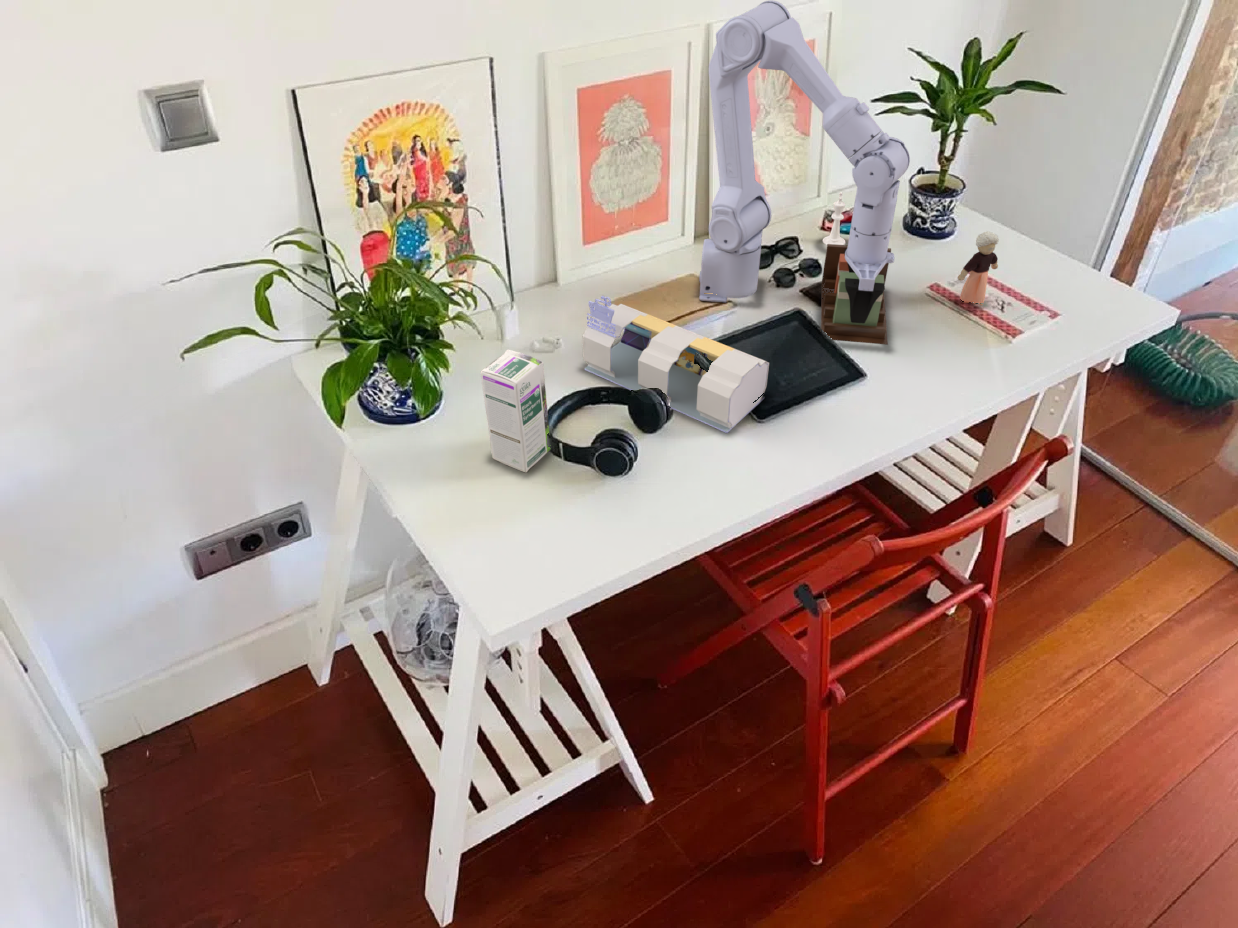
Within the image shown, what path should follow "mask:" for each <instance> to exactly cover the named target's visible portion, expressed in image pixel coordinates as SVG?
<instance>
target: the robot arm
mask: <svg viewBox="0 0 1238 928" xmlns="http://www.w3.org/2000/svg"><path fill="white" fill-rule="evenodd" d="M715 40H716V41H715V42H716V43H715V46H714V49H713V51H712V55H711V58H710V60H709V63H708V77H709V78H708V79H709V88H710V98H711V110H712V119H713V129H714V139H715V140H714V141H715V149H716V160H717V169H718V170H717V171H718V180H719V181H718V182H719V187H718V190H717V192H716V195H715V197H714V199H713V201H712V203H711V217H710V221H709V223H708V234H709V237H710V238H704V240H703V245H702V251H701V266H700V268H701V269H700V271H699V278H698V279H699V280H698V282H699V283H700V285H699V298H698V299H699V301H700V302H701V301H702V302H714V303H725V304H726V303H728V301H727V300H728V298H730V299H731V298H732V299H743V298H744V299H745V298H748V297H750V296H753V295H754V294H755V293H756V292H757V290H758V283H759V273H760V264H761V253H762V241H763V238H762V237H763V231H764V229H766V228H767V227H769V225H770V224H771V220H772V209H771V206H770V204H769V202H768V200H767V197H766V193H765V192H766V191H765V186H764V185H763V184H761V183H760V182H758V181H757V179H756V167H755V156H754V155H755V154H754V143H753V142H754V141H753V130H752V129H753V128H752V118H751V117H752V115H751V102H750V92H749V74H750V73H751V72H752V71H753V70H754V69H755V67H756V66H757V68H758V69H761V70H770V71H771V70H772V71H783V72H784V73H786V75H787V76H788V77H789V78H790V79H791V80H792V81H793V83H794V84H795V85H796V86H797V87H798V89H800V90H801V91H802V92H803V93H804V95H805V96H806V97H807V98H808V99H809V100H810V101H811V102H812V103H813V104H814V106H815V107H816V108H817V109H818V110H819V111H820V112H821V113H822V129H823V130H824V131H825V132H826V134H827V135H828V136H829V137H830V138H831V140H832V141H833V142H834V144H835V145H836V146H837V147H838V149H839V150H840V151H841V152H842V154H843V155H844V156H845V158H846V160H848V161H849V163H850V164H851V165H852V166H853V167H852V169H851V174H852V179H853V182H854V183H855V185H856V194H855V196H854V197H855V198H854V204H853V209H852V217H851V223H850V229H849V235H848V243H847V245H848V248H846V249H845V251H844V254H845V260H846V261H847V264H848V269H849V272H850V273H856V275H857V276H858V278H859V279H852V278H845V288H846V291H847V293H848V296H849V300H850V320H851V322H852V323H865V322H866V320H867V318H868V316H869V313H870V311H871V309H872V307H873V305H874V303H875V301H876V300H877V299H878V298H879V296H880V295H882V293H883V292H884V293H885V289H886V286H885V285H886V283H885V284H884V283H874V282H875V278H876V277H877V275H878V274H879V272H880V271H881V270H882V268H883V267H884V265H885V264H886V263H889V264H893V263H894V262H895V260H896V259H895V257H896V256H895V253H894V252H891V253H890V252H887V250H888V248H889V244H890V238H891V234H892V229H893V224H894V218H895V213H896V207H897V202H898V194H899V190H900V189H899V188H900V183H901V181H900V180H899V179H900V178H901V177H903V176H904V174H905V173H906V172H907V170H908V169H909V166H910V161H911V158H910V153H909V151H908V148H907V147H906V145H905V143H904V142H903V140H901V139H899V138H897V137H893V136H890V135H889V134H888V132H884V131H883V130H882V128H881V127H880V126H879V125H878V124H877V122H876V121H875V120H874V118H873V117H872V115H870V114H869V112H868V111H870V108H869V106H868V105H867V104H866V102H860V101H859V100H858V98H857V97H852V96H846V95H843V93H842V92H841V91H840V89H839V88H838V86H837V85H836V83H835V82H834V81H833V79H832V78H831V76H830V75H829V73H828V72H827V71H826V69H825V68H824V66H823V65H822V63H821V61H820V60H819V59H818V57H817V56H816V54H815V53H814V51H813V50H812V49H811V47H810V46H809V44H808V43H807V41H806V40H805V38H804V35H803V32H802V28H801V25H800V23H799V21H797V20H796V19H795V18H794V17H793V16H791V14H790V12H789V10H788V8H787V7H786V6H785V5H784V4H783V3H782V2H780V1H777V0H765V1H763V2H761V3H759V4H758V5H757V6H755V7H753V8H752V9H749V10H748V11H746V12H743V13H741V14H739V15H736V16H733V17H731V18H730V19H729V20H727V22H725V23H724V24H723V25H722V26H721V28H720V29H718V31H717V32H716V33H715ZM704 293H713V294H704ZM716 294H717V295H716Z"/></svg>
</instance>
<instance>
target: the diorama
mask: <svg viewBox="0 0 1238 928" xmlns="http://www.w3.org/2000/svg"><path fill="white" fill-rule="evenodd" d="M587 303H588V308H589V311H590V313H589V312H587V313H586V315H587V316H586V328H585V330H584V332H583V334H582V360H583V361H584V362H585V363H586V364H587V366H585V367H584V371H585V372H589V373H591V374H592V375H595V376H597V377H600V378H602V379H604V380H607V381H608V382H611V383H613V384H616V385H617V386H619V387H622V388H624V389H626V390H629V391H631V390H638V389H641V388H659V389H661V390H662V392H663V393H665V394H666V395H667V397H669V402H670V407H671V408H670V409H671V410H674V411H675V412H678V413H681V414H683V415H684V416H687V417H689V418H691V419H694V420H696V421H698V422H701V423H702V424H705V425H708V426H710V427H712V428H714V429H717V430H718V431H720V432H723V433H725V434H729V432H730V431H731V430H732V429H733V428H734V427H736V425H737V424H738V423H739V422H741V421H742V420H743V419H744V418H745V417H746V416H747V415H749V413H751V412H752V411H753V410H754V409H755V408H756V407H757V406H758V405H759V404H760V403H761V402H762V401H763V400H764V399H765V398H766V396H764V394H765V392H766V389H767V386H768V377H769V368H770V362H768V361H767V360H764V359H762V358H759V357H757V356H755V355H751V354H749V353H746V352H744V351H741V350H739V349H736V348H734V347H732V346H729V345H726V344H723V343H722V342H719V341H716V340H714V339H711V338H709V337H706V336H703V335H701V334H698V333H696V332H693V331H691V330H689V329H686V328H684V327H681V326H679V325H676V324H673V323H671V322H668V321H666V320H663V319H661V318H659V317H656V316H653V315H651V314H649V313H646V312H643V311H640V310H638V309H636V308H633V307H631V306H628V305H626V304H623V303H619V304H618V305H617V304H615V303H612V299H611V298H610V297H609V296H606V297H605V296H604V295H601V296H600V299H599V298H595V299H594V301H592V300H589V301H588V302H587ZM600 303H602V304H600ZM603 304H604V305H603ZM619 338H620V341H619V342H618V343H616V344H615V345H614V346H613V344H614V343H615V340H617V339H619ZM612 346H613V347H612ZM696 352H697V353H698V354H700V355H703V356H705V357H707V358H708V359H709V360H711V361H713V362H712V363H711V365H710V367H709V370H708V372H706V371H705V370H703V369H701V368H700V366H699V365H698V364H694V356H695V353H696ZM763 393H764V394H763ZM762 394H763V395H762ZM761 395H762V396H761ZM760 396H761V397H760ZM758 397H760V398H759V399H758ZM757 399H758V400H757ZM755 400H757V401H756V402H754V401H755ZM753 402H754V403H753Z"/></svg>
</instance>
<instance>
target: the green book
mask: <svg viewBox="0 0 1238 928" xmlns="http://www.w3.org/2000/svg"><path fill="white" fill-rule="evenodd" d="M845 278H852V279H859V278H858V276H857V275H856V273H850V272H840V277H839V283H838V290H837V297H836V303H835V309H834V316H833V323H840V324H852V325H865V326H877V321H878V316H879V311H880V306H881V301H882V296H883V293H882V295H880V296H879V298H878V299H877V300H876V301H875V303H874V305H873V307H872V309H871V311H870V313H869V316H868V318H867V320H866V322H865V323H852V322H851V320H850V300H849V296H848V293H847V291H846V288H845ZM874 283H884V275H877V277H876V278H875V282H874Z"/></svg>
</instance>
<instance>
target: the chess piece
mask: <svg viewBox="0 0 1238 928" xmlns="http://www.w3.org/2000/svg"><path fill="white" fill-rule="evenodd" d="M832 206H833V208H834V209H833V210H834V213H832V214H831V217H830V218H831V219H832V220H833V224H832V227H831V231H830V234H829V235H827V236H825V237H823V239H822V244H824V245H826V246H827V244H836V245H846V240H845V239H844V238H843V237H841V236H840V235H841V234H840V230H841V228H840V227H841V225H840V224H841V221H842V220H844V219H845V216H844V215H843V211H844V209H845V207H846V203H845V201H843V192H842V191H839V195H838V200H836V201H834V202H833V205H832Z"/></svg>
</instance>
